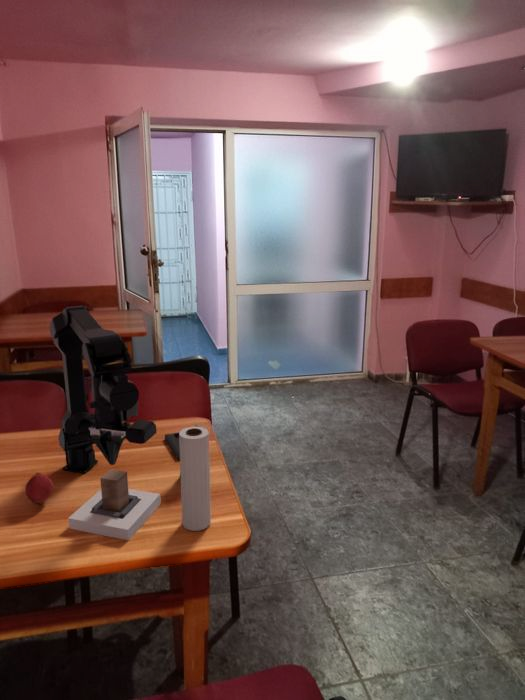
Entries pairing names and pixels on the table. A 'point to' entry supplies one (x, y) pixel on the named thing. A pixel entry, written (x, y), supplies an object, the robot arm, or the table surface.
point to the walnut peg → (114, 490)
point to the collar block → (115, 515)
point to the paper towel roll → (195, 477)
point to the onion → (39, 488)
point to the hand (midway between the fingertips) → (112, 463)
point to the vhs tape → (173, 443)
